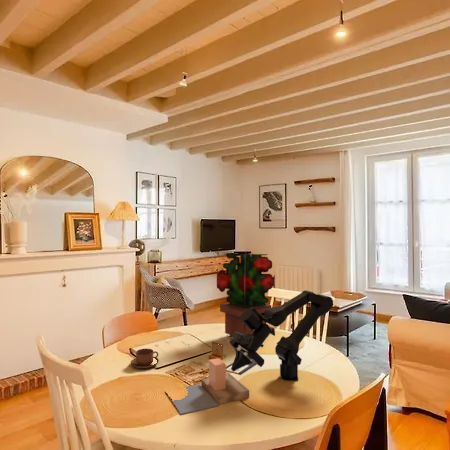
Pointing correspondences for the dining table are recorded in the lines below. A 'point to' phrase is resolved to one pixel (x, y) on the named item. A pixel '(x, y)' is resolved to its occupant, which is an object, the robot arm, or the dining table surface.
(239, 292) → the potted plant
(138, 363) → the cup and saucer
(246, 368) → the chocolate bar
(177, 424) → the dining table surface
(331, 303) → the robot arm
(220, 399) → the block
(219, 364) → the salmon pink block
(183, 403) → the slate mat
